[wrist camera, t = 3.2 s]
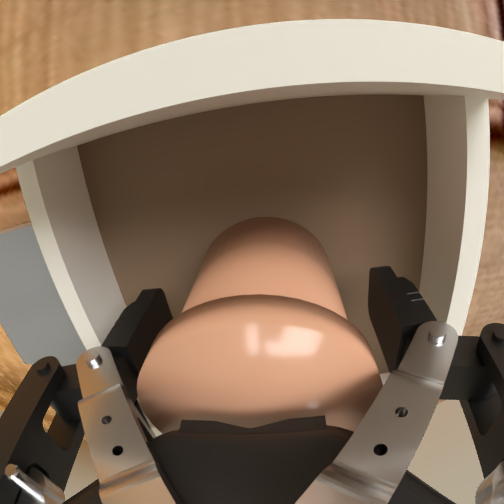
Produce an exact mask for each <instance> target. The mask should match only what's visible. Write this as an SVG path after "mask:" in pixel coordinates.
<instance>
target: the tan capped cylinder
mask: <svg viewBox="0 0 504 504" xmlns="http://www.w3.org/2000/svg"><path fill="white" fill-rule="evenodd" d="M382 387H383V384H382V380H381V377H380V374H379V371H378V367H377V364H376V361H375V358H374V355H373V352H372V349H371V347H370V345H369V343H368V342H367V340H366V338H365V337H364V336H363V334H362V333H361V332H360V331H359V330H358V329H357V328H356V327H355V326H354V325H353V324H352V323H350V322H349V321H348V320H347V316H346V313H345V310H344V306H343V303H342V300H341V296H340V293H339V290H338V287H337V284H336V280H335V277H334V274H333V271H332V268H331V265H330V262H329V259H328V256H327V254H326V251H325V249H324V248H323V246H322V244H321V243H320V242H319V240H318V239H317V238H316V237H315V236H314V235H313V234H312V233H311V232H310V231H308V230H307V229H305V228H304V227H302V226H301V225H299V224H297V223H295V222H292V221H289V220H286V219H282V218H277V217H255V218H250V219H246V220H243V221H240V222H238V223H236V224H234V225H232V226H230V227H229V228H227V229H225V230H224V231H223V232H222V233H221V234H219V235H218V237H217V238H216V239H215V240H214V241H213V243H212V244H211V246H210V247H209V249H208V251H207V254H206V256H205V258H204V260H203V263H202V265H201V267H200V270H199V272H198V275H197V277H196V279H195V282H194V284H193V286H192V289H191V291H190V294H189V296H188V299H187V301H186V303H185V306H184V308H183V311H182V313H181V314H179V315H177V316H176V317H175V318H173V319H172V320H171V321H170V322H168V323H167V324H166V325H165V326H164V327H163V329H162V330H161V331H160V332H159V333H158V335H157V336H156V338H155V340H154V341H153V343H152V346H151V348H150V350H149V352H148V354H147V357H146V359H145V361H144V363H143V366H142V368H141V370H140V373H139V376H138V380H137V394H138V399H139V402H140V405H141V408H142V409H143V411H144V413H145V415H146V416H147V418H148V419H149V420H150V422H151V423H152V424H153V425H154V426H155V427H156V428H157V429H158V430H159V431H160V432H161V433H162V434H164V433H167V432H170V431H174V430H179V428H180V424H181V420H206V421H218V422H223V423H227V424H232V425H236V426H241V427H246V428H254V427H258V426H262V425H266V424H270V423H274V422H278V421H282V420H285V419H290V418H302V417H313V416H322V415H325V419H326V425H330V426H336V427H341V428H344V429H348V430H350V431H353V432H355V430H356V429H357V427H358V426H359V424H360V423H361V421H362V420H363V418H364V416H365V415H366V413H367V412H368V410H369V409H370V407H371V405H372V404H373V402H374V400H375V399H376V397H377V395H378V394H379V392H380V390H381V389H382Z"/></svg>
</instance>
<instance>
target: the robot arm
mask: <svg viewBox="0 0 504 504" xmlns="http://www.w3.org/2000/svg"><path fill="white" fill-rule="evenodd" d="M368 312H369V317H370V320H371V323H372V325H373V328H374V331H375V333H376V336H377V339H378V341H379V344H380V347H381V350H382V352H383V355H384V358H385V361H386V364H387V367H388V370H389V373H390V375H389V377H388V378H387V380H386V382H385V384H384V385H383V387H382V389H381V390H380V392H379V394H378V395H377V397H376V399H375V400H374V402H373V404H372V405H371V407H370V409H369V410H368V412H367V413H366V415H365V416H364V418H363V420H362V421H361V423H360V424H359V426H358V427H357V429H356V430H355V432H353V431H350V430H348V429H344V428H341V427H336V426H330V425H326V419H325V415H322V416H313V417H302V418H290V419H285V420H282V421H278V422H274V423H270V424H266V425H262V426H258V427H254V428H246V427H241V426H236V425H232V424H227V423H223V422H218V421H206V420H181V424H180V428H179V430H174V431H170V432H167V433H164V434H161V435H159V436H157V437H156V435H155V433H154V432H153V430H152V428H151V426H150V424H149V422H148V420H147V418H146V415H145V413H144V411H143V409H142V408H141V405H140V403H139V401H138V400H137V397H138V394H137V380H138V376H139V373H140V370H141V368H142V366H143V363H144V361H145V359H146V357H147V354H148V352H149V350H150V348H151V346H152V343H153V341H154V340H155V338H156V336H157V335H158V333H159V332H160V331H161V330H162V329H163V327H164V326H165V325H166V324H167V323H168V322H170V321H171V320H172V319H173V317H172V314H171V311H170V308H169V305H168V302H167V299H166V296H165V293H164V291H163V290H162V289H161V288H155V289H143V290H142V291H141V293H140V294H139V296H138V298H137V299H136V301H135V302H132V303H131V304H130V305H129V306H127V307H126V308H125V309H124V310H123V312H122V313H121V315H120V316H119V319H117V321H116V323H115V324H114V325H115V326H113V327H112V329H111V330H110V332H109V334H108V335H107V337H106V339H105V340H104V342H103V343H102V345H101V346H99V347H94V348H91V349H89V350H87V351H85V352H84V353H83V354H82V355H81V356H80V357H79V358H78V360H77V363H76V364H72V365H67V366H61V364H60V362H59V361H58V359H57V358H56V357H54V356H47V357H43V358H41V359H39V360H38V361H37V362H35V363H34V364H33V365H32V367H31V368H30V370H29V371H28V373H27V375H26V376H25V378H24V379H23V381H22V382H21V384H20V386H19V387H18V389H17V391H16V392H15V394H14V395H13V397H12V399H11V400H10V402H9V404H8V406H7V407H6V409H5V411H4V413H3V414H2V416H1V418H0V504H455V503H454V502H452V501H451V500H449V499H448V498H446V497H445V496H443V495H442V494H440V493H439V492H438V491H436V490H435V489H433V488H432V487H430V486H429V485H428V484H426V483H425V482H423V481H422V480H420V479H419V478H418V477H416V476H415V475H413V474H412V473H411V472H409V471H408V470H407V468H408V466H409V464H410V462H411V460H412V459H413V457H414V455H415V452H416V450H417V448H418V446H419V444H420V442H421V440H422V438H423V436H424V433H425V431H426V429H427V427H428V425H429V422H430V420H431V417H432V415H433V413H434V410H435V408H436V405H437V403H438V400H439V399H449V400H451V399H452V400H460V403H461V406H462V408H463V412H464V414H465V417H466V420H467V423H468V426H469V429H470V432H471V435H472V438H473V441H474V444H475V448H476V451H477V454H478V457H479V461H480V465H481V468H482V472H483V476H484V480H483V481H482V482H481V484H480V485H479V487H478V489H477V491H476V496H475V503H476V504H504V325H503V324H500V323H491V324H488V325H486V326H485V327H484V328H483V329H482V331H481V334H480V337H477V336H459V335H458V334H457V332H456V330H455V329H454V328H453V327H452V326H450V325H449V324H447V323H444V322H440V321H437V319H436V318H435V316H434V314H433V313H432V311H431V310H430V308H429V306H428V305H427V303H426V302H425V300H423V297H422V295H421V294H420V293H419V291H418V289H417V288H416V286H415V285H414V283H412V282H411V281H409V280H408V279H406V278H405V277H398V278H397V276H396V274H395V273H394V271H393V270H392V268H391V267H390V266H381V267H373V268H370V271H369V290H368ZM50 405H51V406H52V407H53V409H54V410H55V411H56V412H57V413H56V415H55V417H54V419H53V421H52V423H51V425H50V428H49V430H48V432H47V433H46V432H45V430H44V428H43V418H44V416H45V414H46V412H47V410H48V408H49V406H50ZM84 435H85V436H86V440H87V443H88V447H89V451H90V454H91V457H92V461H93V464H94V467H95V470H96V473H97V476H98V479H97V480H96V481H94V482H93V483H92V484H90V485H89V486H87V487H86V488H84V489H83V490H81V491H80V492H78V493H77V494H76V495H74V496H72V497H71V498H70V499H68V500H66V501H65V495H64V490H65V487H66V484H67V480H68V478H69V475H70V472H71V469H72V466H73V464H74V461H75V458H76V456H77V453H78V450H79V448H80V445H81V442H82V440H83V437H84Z"/></svg>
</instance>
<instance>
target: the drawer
mask: <svg viewBox="0 0 504 504" xmlns="http://www.w3.org/2000/svg"><path fill="white" fill-rule="evenodd" d="M488 99H496V100H504V42H503V41H500V40H496V39H493V38H489V37H485V36H481V35H477V34H473V33H468V32H464V31H459V30H454V29H449V28H443V27H437V26H431V25H424V24H416V23H407V22H397V21H385V20H367V19H316V20H298V21H285V22H275V23H266V24H258V25H250V26H244V27H237V28H231V29H226V30H220V31H215V32H210V33H206V34H201V35H196V36H192V37H188V38H184V39H180V40H176V41H172V42H169V43H165V44H161V45H158V46H155V47H151V48H148V49H145V50H142V51H139V52H136V53H133V54H130V55H127V56H124V57H121V58H118V59H116V60H113V61H110V62H108V63H105V64H102V65H100V66H97V67H95V68H92V69H90V70H88V71H85V72H83V73H81V74H78V75H76V76H74V77H72V78H70V79H67V80H65V81H63V82H61V83H59V84H57V85H55V86H53V87H51V88H49V89H47V90H45V91H43V92H41V93H39V94H37V95H35V96H34V97H32V98H30V99H28V100H26V101H25V102H23V103H21V104H19V105H18V106H16V107H14V108H12V109H11V110H9V111H8V112H6V113H4V114H3V115H1V116H0V173H3V172H5V171H8V170H10V169H13V168H16V171H17V175H18V179H19V183H20V186H21V190H22V194H23V197H24V201H25V204H26V207H27V211H28V214H29V217H30V220H31V223H32V226H33V229H34V232H35V235H36V238H37V241H38V244H39V246H40V249H41V252H42V255H43V257H44V260H45V262H46V265H47V267H48V270H49V272H50V275H51V277H52V279H53V282H54V284H55V287H56V289H57V291H58V293H59V296H60V298H61V300H62V302H63V304H64V306H65V309H66V311H67V313H68V315H69V317H70V319H71V321H72V323H73V325H74V327H75V329H76V331H77V333H78V335H79V337H80V339H81V340H82V342H83V344H84V346H85V348H86V350H89V349H91V348H94V347H99V346H101V345H102V343H103V342H104V340H105V339H106V337H107V335H108V334H109V332H110V330H111V329H112V327H113V326H115V325H114V324H115V323H116V321H117V319H119V316H120V315H121V313H122V312H123V310H124V309H125V308H126V307H127V306H129V305H130V304H131V303H132V302H135V301H136V299H137V298H138V296H139V294H140V293H141V291H142V290H143V289H155V288H161V289H162V290H163V291H164V293H165V296H166V299H167V302H168V305H169V308H170V311H171V314H172V317H173V318H175V317H176V316H177V315H179V314H181V313H182V311H183V308H184V306H185V303H186V301H187V299H188V296H189V294H190V291H191V289H192V286H193V284H194V282H195V279H196V277H197V275H198V272H199V270H200V267H201V265H202V263H203V260H204V258H205V256H206V254H207V251H208V249H209V247H210V246H211V244H212V243H213V241H214V240H215V239H216V238H217V237H218V235H219V234H221V233H222V232H223V231H224V230H225V229H227V228H229V227H230V226H232V225H234V224H236V223H238V222H240V221H243V220H246V219H250V218H255V217H277V218H282V219H286V220H289V221H292V222H295V223H297V224H299V225H301V226H302V227H304V228H305V229H307V230H308V231H310V232H311V233H312V234H313V235H314V236H315V237H316V238H317V239H318V240H319V242H320V243H321V244H322V246H323V248H324V249H325V251H326V254H327V256H328V259H329V262H330V265H331V268H332V271H333V274H334V277H335V280H336V284H337V287H338V290H339V293H340V296H341V300H342V303H343V306H344V310H345V313H346V316H347V320H348V321H349V322H350V323H352V324H353V325H354V326H355V327H356V328H357V329H358V330H359V331H360V332H361V333H362V334H363V336H364V337H365V338H366V340H367V342H368V343H369V345H370V347H371V349H372V352H373V355H374V358H375V361H376V364H377V367H378V371H379V374H380V377H381V380H382V384H383V385H384V384H385V382H386V380H387V378H388V377H389V375H390V373H389V370H388V367H387V364H386V361H385V358H384V355H383V352H382V350H381V347H380V344H379V341H378V339H377V336H376V333H375V331H374V328H373V325H372V323H371V320H370V317H369V312H368V290H369V271H370V268H373V267H381V266H390V267H391V268H392V270H393V271H394V273H395V274H396V276H397V278H398V277H405V278H406V279H408V280H409V281H411V282H412V283H414V285H415V286H416V288H417V289H418V291H419V293H420V294H421V295H422V297H423V300H425V302H426V303H427V305H428V306H429V308H430V310H431V311H432V313H433V314H434V316H435V318H436V319H437V321H440V322H444V323H447V324H449V325H450V326H452V327H453V328H454V329H455V330H456V332H457V334H458V335H459V336H461V335H462V332H463V328H464V325H465V321H466V318H467V314H468V310H469V306H470V302H471V298H472V294H473V290H474V285H475V281H476V276H477V271H478V266H479V261H480V255H481V249H482V243H483V236H484V228H485V220H486V211H487V201H488V188H489V168H490V126H489V106H488ZM137 400H138V401H139V399H138V397H137ZM139 403H140V402H139ZM146 418H147V416H146ZM147 420H148V422H149V424H150V426H151V428H152V430H153V432H154V433H155V435H156V437H157V436H159V435H161V434H162V433H161V432H160V431H159V430H158V429H157V428H156V427H155V426H154V425H153V424H152V423H151V422H150V420H149V419H148V418H147Z"/></svg>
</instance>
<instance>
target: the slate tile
mask: <svg viewBox="0 0 504 504" xmlns="http://www.w3.org/2000/svg"><path fill="white" fill-rule="evenodd" d="M0 323H1V325H2V327H3V329H4V330H5V332H6V334H7V336H8V337H9V339H10V341H11V343H12V344H13V346H14V348H15V349H16V351H17V352H18V354H19V356H20V357H21V359H22V360H23V362H24V363H25V364H31V365H33V364H34V363H35V362H37V361H38V360H39V359H41V358H43V357H47V356H54V357H56V358H57V359H58V361H59V362H60V364H61V366H67V365H72V364H76V363H77V360H78V358H79V357H80V356H81V355H82V354H83V353H84V352H85V351H87V350H86V348H85V346H84V344H83V342H82V340H81V339H80V337H79V335H78V333H77V331H76V329H75V327H74V325H73V323H72V321H71V319H70V317H69V315H68V313H67V311H66V309H65V306H64V304H63V302H62V300H61V298H60V296H59V293H58V291H57V289H56V287H55V284H54V282H53V279H52V277H51V275H50V272H49V270H48V267H47V265H46V262H45V260H44V257H43V255H42V252H41V249H40V246H39V244H38V241H37V238H36V235H35V232H34V229H33V226H32V223H31V222H28V223H25V224H21V225H17V226H14V227H10V228H6V229H3V230H0Z"/></svg>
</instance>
